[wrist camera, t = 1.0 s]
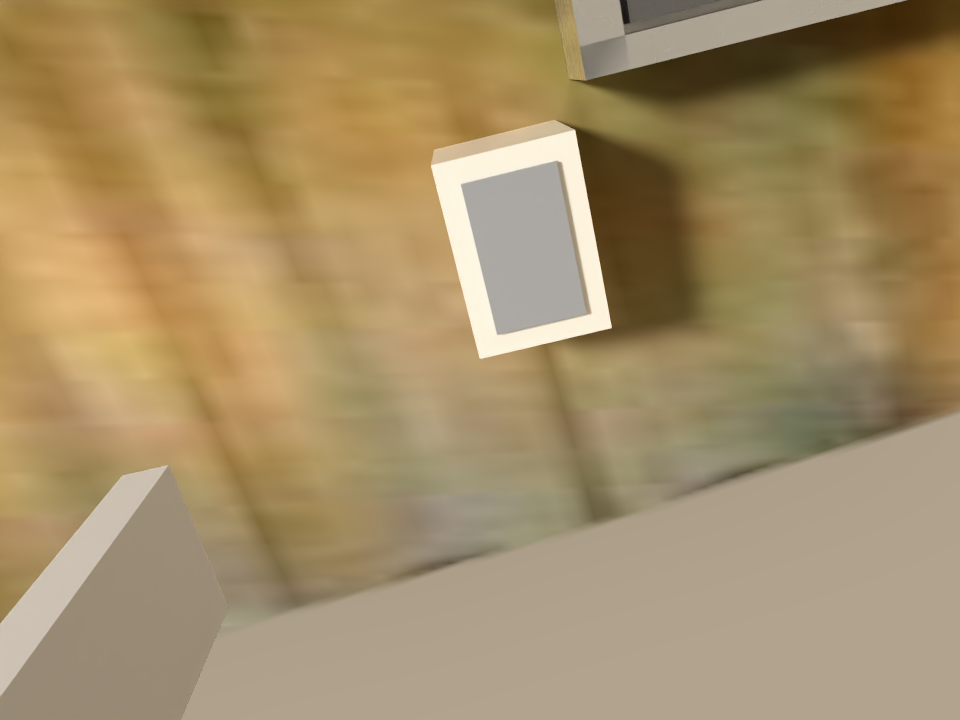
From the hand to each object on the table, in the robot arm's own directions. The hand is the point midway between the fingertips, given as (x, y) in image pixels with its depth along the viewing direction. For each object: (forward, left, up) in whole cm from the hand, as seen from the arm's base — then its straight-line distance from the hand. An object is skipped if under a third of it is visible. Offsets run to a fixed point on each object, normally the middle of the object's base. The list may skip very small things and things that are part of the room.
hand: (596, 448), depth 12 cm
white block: (0, 0, -19) cm, 19 cm away
